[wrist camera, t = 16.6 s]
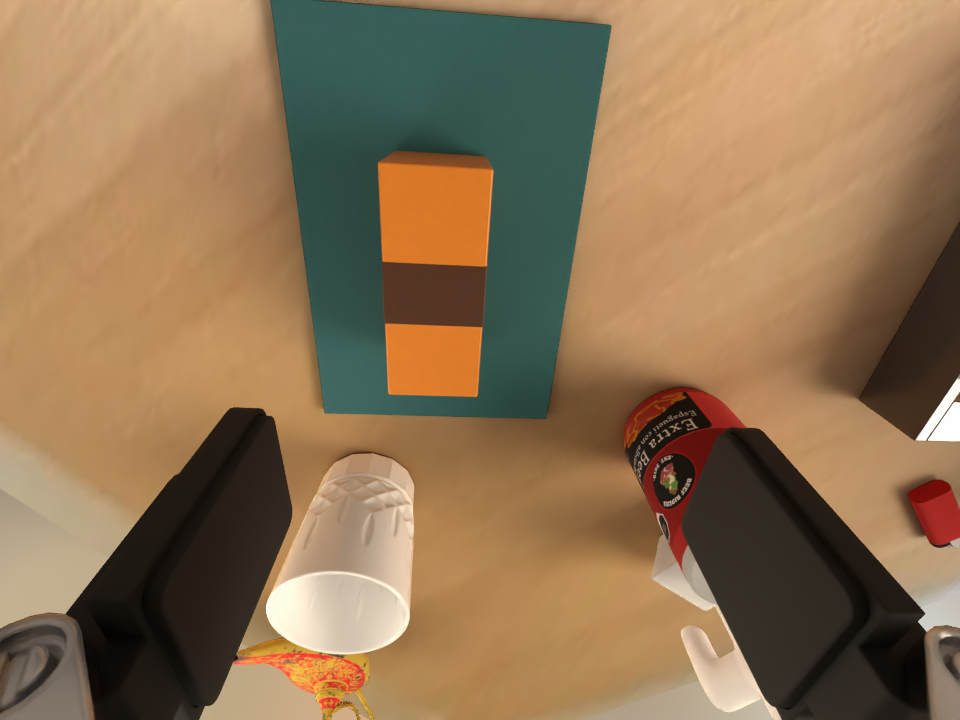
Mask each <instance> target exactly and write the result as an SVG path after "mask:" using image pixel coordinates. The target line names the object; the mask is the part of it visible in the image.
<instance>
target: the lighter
mask: <svg viewBox="0 0 960 720" xmlns="http://www.w3.org/2000/svg"><path fill="white" fill-rule="evenodd" d="M908 497H909V499H910V501H911V503H912V506H913V508H914V510H915V512H916V514H917V517H918V519H919V521H920V523H921V525H922V528H923V530H924V532H925V534H926V536H927V539H928V540H929V542H930V543H931V544H932V545H933V546H935V547H938V548H942V547H946V546H948V547H949V548H953V547H954V548H956V547H959V546H960V510H959V507H958V504H957V502H956V499H955V497H954V494H953V491H952V489H951V486H950V485H949V484H948V483H947V482H945V481H943V480H935V481H932V482H929V483H927V484H925V485H923V486H921V487H919V488H916V489H914V490H912V491H911V492H910V493H909V494H908Z"/></svg>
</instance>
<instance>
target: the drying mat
mask: <svg viewBox="0 0 960 720" xmlns="http://www.w3.org/2000/svg"><path fill="white" fill-rule="evenodd" d="M271 7H272V15H273V22H274V30H275V38H276V45H277V53H278V60H279V68H280V76H281V83H282V91H283V99H284V106H285V114H286V122H287V129H288V137H289V144H290V152H291V160H292V167H293V175H294V183H295V190H296V198H297V205H298V213H299V221H300V228H301V236H302V244H303V251H304V259H305V266H306V274H307V282H308V289H309V297H310V305H311V312H312V320H313V328H314V335H315V343H316V350H317V358H318V366H319V373H320V381H321V389H322V396H323V404H324V411H325V413H335V414H375V415H415V416H454V417H494V418H533V419H546V418H547V412H548V406H549V400H550V394H551V388H552V382H553V376H554V370H555V364H556V358H557V352H558V346H559V340H560V334H561V328H562V322H563V316H564V310H565V304H566V298H567V292H568V286H569V280H570V274H571V268H572V262H573V256H574V250H575V244H576V237H577V231H578V225H579V219H580V213H581V207H582V201H583V195H584V189H585V183H586V177H587V171H588V165H589V159H590V153H591V147H592V141H593V135H594V129H595V123H596V117H597V111H598V105H599V99H600V93H601V87H602V81H603V75H604V69H605V63H606V57H607V50H608V44H609V38H610V32H611V25H606V24H594V23H582V22H570V21H559V20H547V19H535V18H523V17H512V16H500V15H488V14H476V13H465V12H453V11H441V10H429V9H418V8H406V7H394V6H382V5H371V4H359V3H347V2H335V1H324V0H271ZM394 151H411V152H427V153H442V154H458V155H474V156H485V157H486V158H487V159H488V161H489V163H490V165H491V167H492V168H493V171H494V172H493V186H492V200H491V214H490V228H489V243H488V257H487V281H486V295H485V309H484V323H483V327H482V341H481V355H480V369H479V383H478V395H477V397H464V396H428V395H393V394H389V393H388V378H387V356H386V334H385V323H384V308H383V287H382V265H381V262H382V246H381V224H380V202H379V180H378V162H379V161H381V160H382V159H384V158H385V157H387V156H388V155H390V154H391V153H393V152H394Z"/></svg>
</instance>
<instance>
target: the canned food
mask: <svg viewBox="0 0 960 720" xmlns="http://www.w3.org/2000/svg"><path fill="white" fill-rule="evenodd" d="M731 427H738V428H746V427H745V425H744V424H743V423H742V422H741V421H740V420H739V419H738V418H737V417H736V416H735V415H734V413H733V412H732V411H731V410H730V409H729V408H728V407H727V406H726V405H725V404H724V403H723V402H722V401H720V400H719V399H717V398H716V397H714V396H712V395H709V394H707V393H705V392H703V391H700V390H696V389H691V388H678V389H671V390H667V391H663V392H661V393H658V394H656V395H654V396H652V397H650V398H649V399H647V400H646V401H644V402H643V403H642V404H640V405H639V406H638V407H637V408H636V409H635V410H634V412H633V413H632V414H631V415H630V417H629V419H628V421H627V423H626V426H625V430H624V449H625V453H626V456H627V458H628V460H629V462H630V464H631V467H632V469H633V471H634V473H635V475H636V477H637V479H638V481H639V483H640V485H641V488H642V490H643V492H644V494H645V496H646V498H647V500H648V502H649V504H650V506H651V508H652V511H653V513H654V515H655V517H656V519H657V521H658V523H659V525H660V527H661V529H662V532H663V534H664V536H665V538H666V540H667V542H668V544H669V546H670V548H671V550H672V553H673V555H674V557H675V558H676V560H677V562H678V564H679V566H680V568H681V570H682V572H683V574H684V576H685V578H686V580H687V582H688V583H689V584H690V586H691V588H692V589H693V591H694V592H695V593H696V594H697V595H698V596H699V597H700V598H702V599H704V600H706V601H708V602H710V603H713V604H716V605H718V604H717V602H716V600H715V598H714V596H713V594H712V592H711V590H710V588H709V586H708V584H707V582H706V580H705V578H704V576H703V574H702V572H701V570H700V568H699V566H698V564H697V562H696V560H695V558H694V556H693V554H692V552H691V550H690V548H689V546H688V544H687V542H686V540H685V538H684V536H683V533H682V528H681V521H682V517H683V515H684V513H685V510H686V508H687V505H688V503H689V501H690V498H691V496H692V494H693V491H694V489H695V487H696V484H697V482H698V480H699V477H700V475H701V473H702V470H703V468H704V466H705V463H706V461H707V459H708V456H709V454H710V452H711V449H712V447H713V445H714V442H715V440H716V438H717V436H718V435H720V434H723V433H724V432H725V430H726V429H728V428H731Z"/></svg>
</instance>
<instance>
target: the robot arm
mask: <svg viewBox="0 0 960 720" xmlns="http://www.w3.org/2000/svg"><path fill="white" fill-rule="evenodd" d="M291 519H292V505H291V500H290V495H289V490H288V485H287V480H286V475H285V470H284V465H283V460H282V455H281V450H280V445H279V440H278V435H277V430H276V425H275V421H274V418H273V417H272V416H266V413H265V411H264V410H263V409H260V408H235V407H233V408H230V409H229V410H228V411H227V412H226V413H225V415H224V416H223V417H222V419H221V420H220V421H219V423H218V424H217V425H216V426H215V428H214V429H213V430H212V432H211V433H210V434H209V436H208V437H207V438H206V439H205V441H204V442H203V443H202V445H201V446H200V447H199V449H198V450H197V451H196V452H195V454H194V455H193V456H192V458H191V459H190V460H189V462H188V463H187V464H186V465H185V467H184V468H183V469H182V471H181V472H180V473H179V474H177V475H175V476H174V477H173V478H172V479H171V480H170V481H169V482H168V483H167V484H166V486H165V487H164V488H163V490H162V491H161V492H160V493H159V495H158V496H157V497H156V499H155V500H154V501H153V502H152V504H151V505H150V506H149V507H148V509H147V510H146V511H145V513H144V514H143V515H142V516H141V518H140V519H139V520H138V522H137V523H136V524H135V525H134V527H133V528H132V529H131V531H130V532H129V533H128V534H127V536H126V537H125V538H124V540H123V541H122V542H121V543H120V545H119V546H118V547H117V549H116V550H115V551H114V552H113V554H112V555H111V556H110V557H109V559H108V560H107V561H106V563H105V564H104V565H103V566H102V568H101V569H100V570H99V572H98V573H97V574H96V575H95V577H94V578H93V579H92V581H91V582H90V583H89V584H88V586H87V587H86V588H85V590H84V591H83V592H82V594H81V595H80V596H79V597H78V599H77V600H76V601H75V602H74V604H73V605H72V606H71V607H70V609H69V610H68V611H67V613H66V614H59V613H45V614H39V615H33V616H29V617H27V618H24V619H21V620H19V621H16V622H13V623H10V624H8V625H6V626H5V627H3V628H1V629H0V720H199V719H200V716H201V714H202V712H203V709H204V707H205V706H209V705H212V704H213V703H214V702H215V701H216V700H217V698H218V696H219V694H220V692H221V690H222V687H223V685H224V682H225V680H226V678H227V675H228V673H229V671H230V668H231V666H232V663H233V661H234V658H235V656H236V654H237V651H238V649H239V646H240V644H241V642H242V639H243V637H244V634H245V632H246V630H247V627H248V625H249V622H250V620H251V618H252V615H253V613H254V610H255V608H256V606H257V603H258V601H259V598H260V596H261V594H262V591H263V589H264V586H265V584H266V581H267V579H268V577H269V574H270V572H271V569H272V567H273V565H274V562H275V560H276V557H277V555H278V553H279V550H280V548H281V545H282V543H283V541H284V538H285V536H286V533H287V531H288V529H289V526H290V523H291ZM681 528H682V533H683V536H684V538H685V540H686V542H687V544H688V546H689V548H690V550H691V552H692V554H693V556H694V558H695V560H696V562H697V564H698V566H699V568H700V570H701V572H702V574H703V576H704V578H705V580H706V582H707V584H708V586H709V588H710V590H711V592H712V594H713V596H714V598H715V600H716V602H717V604H718V606H719V608H720V610H721V612H722V614H723V616H724V618H725V620H726V622H727V624H728V627H729V629H730V631H731V633H732V635H733V637H734V639H735V641H736V643H737V645H738V647H739V649H740V651H741V653H742V655H743V657H744V659H745V661H746V663H747V665H748V667H749V669H750V671H751V673H752V675H753V677H754V679H755V681H756V683H757V685H758V687H759V689H760V691H761V693H762V695H763V696H764V698H765V700H766V701H767V702H768V703H769V704H770V705H771V706H773V707H775V708H776V710H777V711H778V713H779V715H780V717H781V719H782V720H960V628H957V627H952V626H947V625H945V626H934V627H933V628H932V629H930V630H929V631H928V632H926V631H925V630H924V628H923V627H922V626H921V625H920V624H919V623H918V621H919V619H921V618H922V617H923V616H924V615H925V613H924V611H923V610H922V609H921V608H920V607H919V606H918V605H917V603H916V602H915V601H914V600H913V599H912V598H911V597H910V596H909V595H908V593H907V592H906V591H905V590H904V589H903V588H902V587H901V586H900V584H899V583H898V582H897V581H896V580H895V579H894V578H893V577H892V575H891V574H890V573H889V572H888V571H887V570H886V569H885V568H884V566H883V565H882V564H881V563H880V562H879V561H878V560H877V559H876V558H875V556H874V555H873V554H872V553H871V552H870V551H869V550H868V549H867V547H866V546H865V545H864V544H863V543H862V542H861V541H860V540H859V538H858V537H857V536H856V535H855V534H854V533H853V532H852V531H851V530H850V528H849V527H848V526H847V525H846V524H845V523H844V522H843V521H842V519H841V518H840V517H839V516H838V515H837V514H836V513H835V512H834V510H833V509H832V508H831V507H830V506H829V505H828V504H827V503H826V501H825V500H824V499H823V498H822V497H821V496H820V495H819V494H818V493H817V491H816V490H815V489H814V488H813V487H812V486H811V485H810V484H809V482H808V481H807V480H806V479H805V478H804V477H803V476H802V475H801V473H800V472H799V471H798V470H797V469H796V468H795V467H794V466H793V465H792V463H791V462H790V461H789V460H788V459H787V458H786V457H785V456H784V454H783V453H782V452H781V451H780V450H779V449H778V448H777V447H776V445H775V444H774V443H773V442H772V441H771V440H770V439H769V438H768V437H767V435H766V434H765V433H764V432H763V431H761V430H760V429H757V428H738V427H731V428H728V429H726V430H725V432H724V433H723V434H720V435H718V436H717V438H716V440H715V442H714V445H713V447H712V449H711V452H710V454H709V456H708V459H707V461H706V463H705V466H704V468H703V470H702V473H701V475H700V477H699V480H698V482H697V484H696V487H695V489H694V491H693V494H692V496H691V498H690V501H689V503H688V505H687V508H686V510H685V513H684V515H683V517H682V521H681Z"/></svg>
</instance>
